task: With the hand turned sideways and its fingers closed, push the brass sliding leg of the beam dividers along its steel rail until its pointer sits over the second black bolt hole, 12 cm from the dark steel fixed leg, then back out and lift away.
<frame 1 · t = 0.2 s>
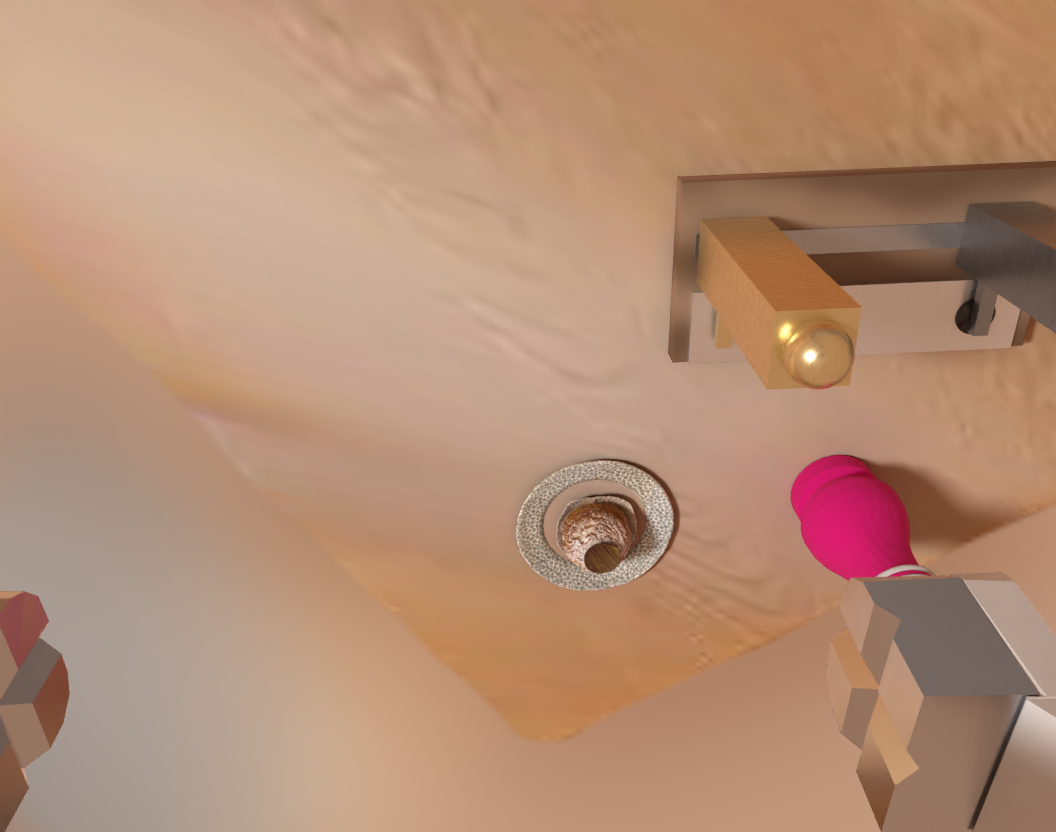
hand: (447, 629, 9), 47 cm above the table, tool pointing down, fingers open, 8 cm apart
sliding leg: (767, 338, 48), point 11 cm above the table, slide at -5.0 cm
pastry: (593, 518, 67), on the table
pepper mill: (829, 487, 66), on the table
bolt strip: (860, 293, 57), on the walnut board, point 1 cm above the table
walnut board: (853, 261, 58), on the table
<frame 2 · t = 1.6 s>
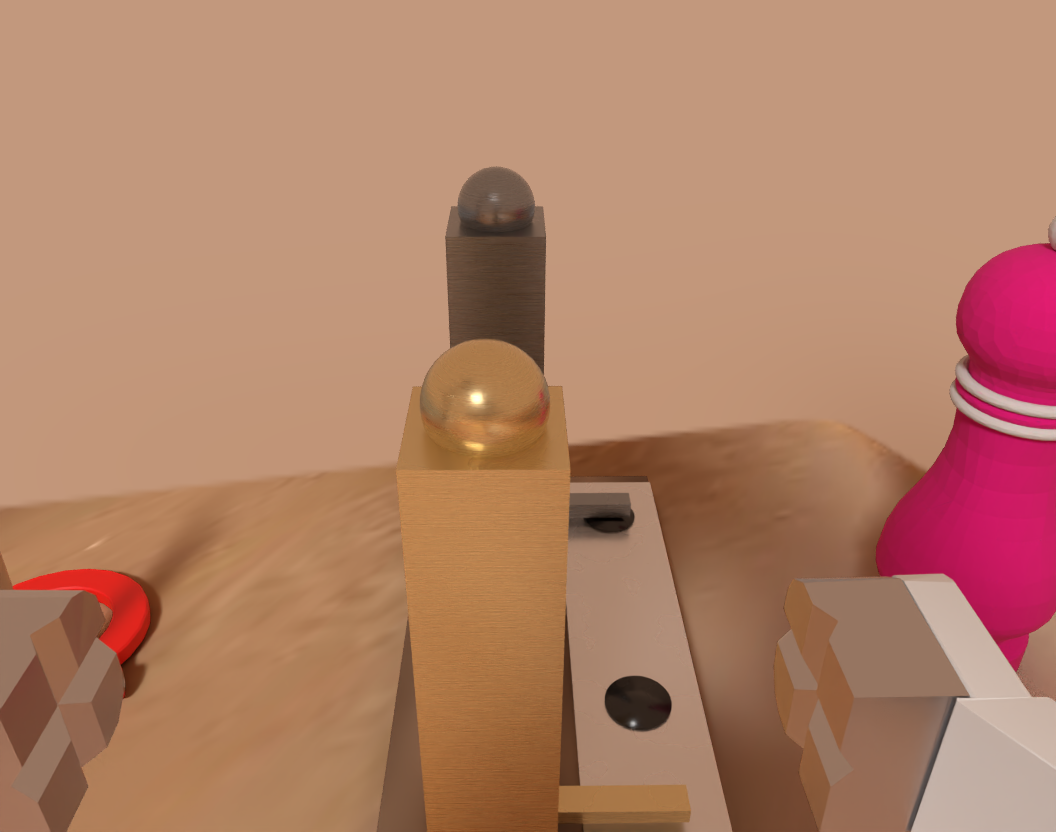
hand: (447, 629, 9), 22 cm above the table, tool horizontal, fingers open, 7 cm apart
sliding leg: (568, 618, 25), point 11 cm above the table, slide at -5.0 cm
fixed leg: (547, 362, 40), on the bolt strip, point 11 cm above the table
pepper mill: (940, 643, 40), on the table
bolt strip: (582, 631, 38), on the walnut board, point 1 cm above the table
walnut board: (544, 660, 38), on the table
tow hook: (51, 652, 39), on the table
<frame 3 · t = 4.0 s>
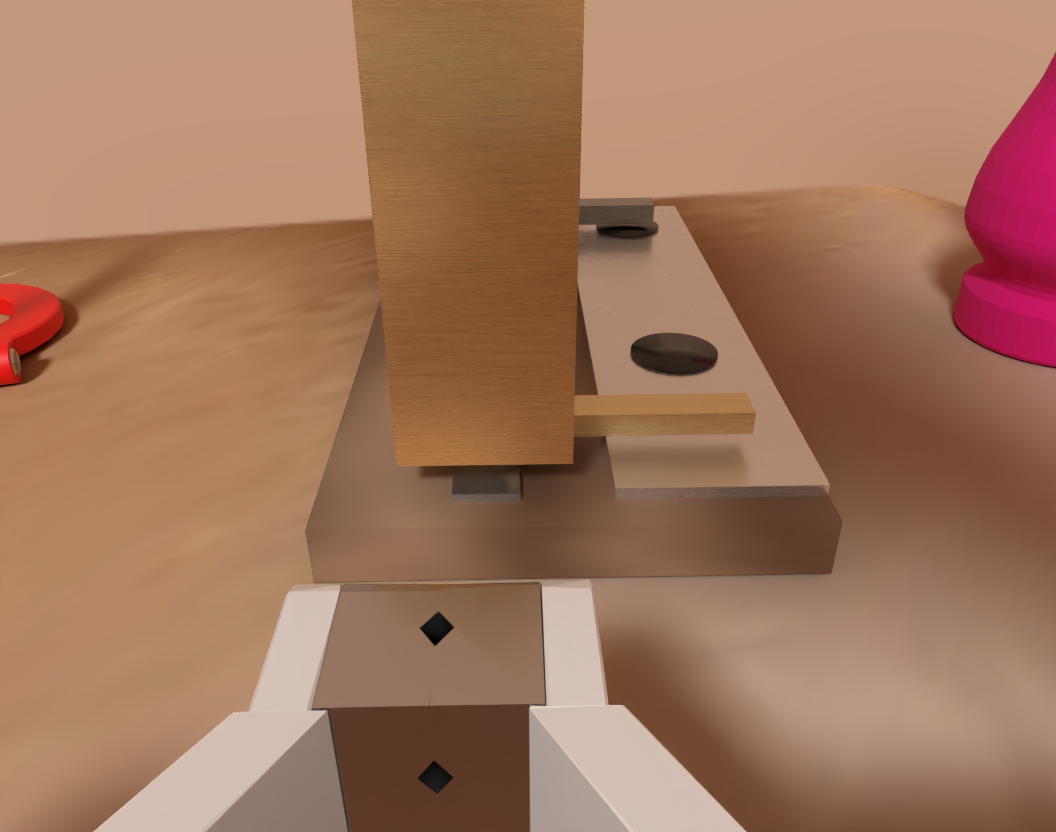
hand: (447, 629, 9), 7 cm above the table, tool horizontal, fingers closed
sliding leg: (587, 49, 17), point 11 cm above the table, slide at -5.0 cm
pepper mill: (1044, 337, 32), on the table
bolt strip: (598, 305, 30), on the walnut board, point 1 cm above the table
walnut board: (551, 351, 31), on the table
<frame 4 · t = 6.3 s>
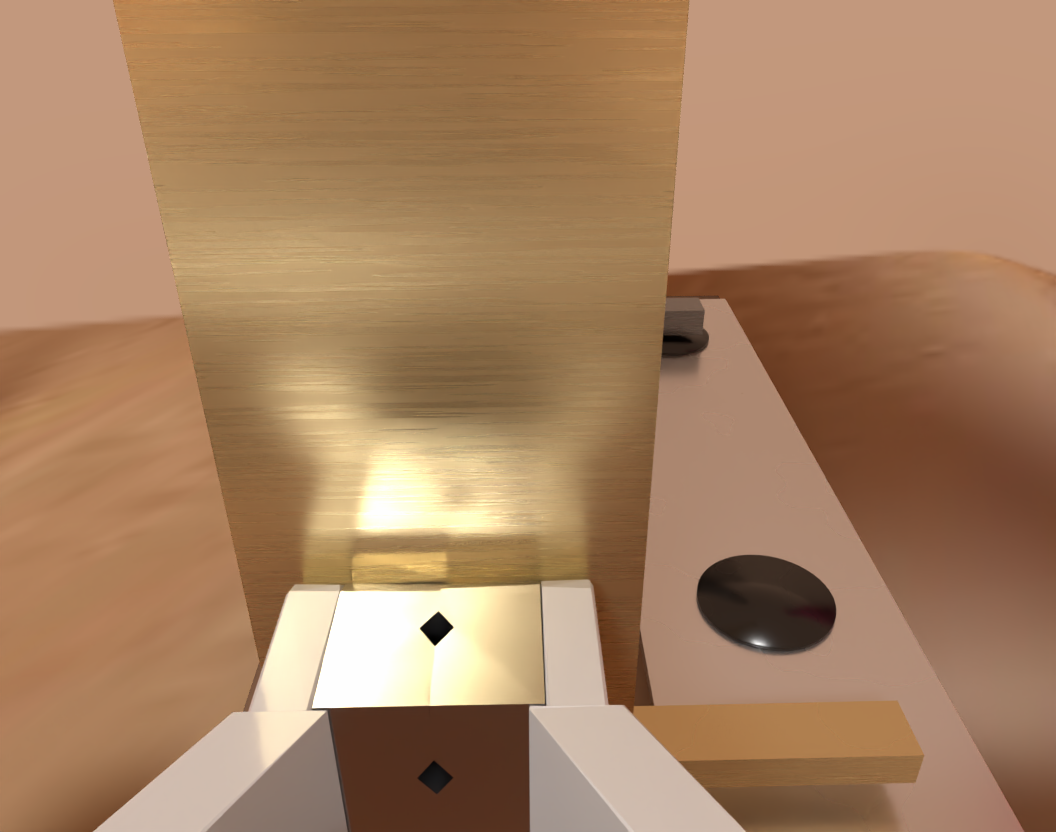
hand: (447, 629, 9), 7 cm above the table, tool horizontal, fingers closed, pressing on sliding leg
sliding leg: (662, 182, 9), point 11 cm above the table, slide at -3.9 cm, touching gripper
fixed leg: (566, 33, 23), on the bolt strip, point 11 cm above the table
bolt strip: (638, 488, 20), on the walnut board, point 2 cm above the table
walnut board: (568, 547, 21), on the table
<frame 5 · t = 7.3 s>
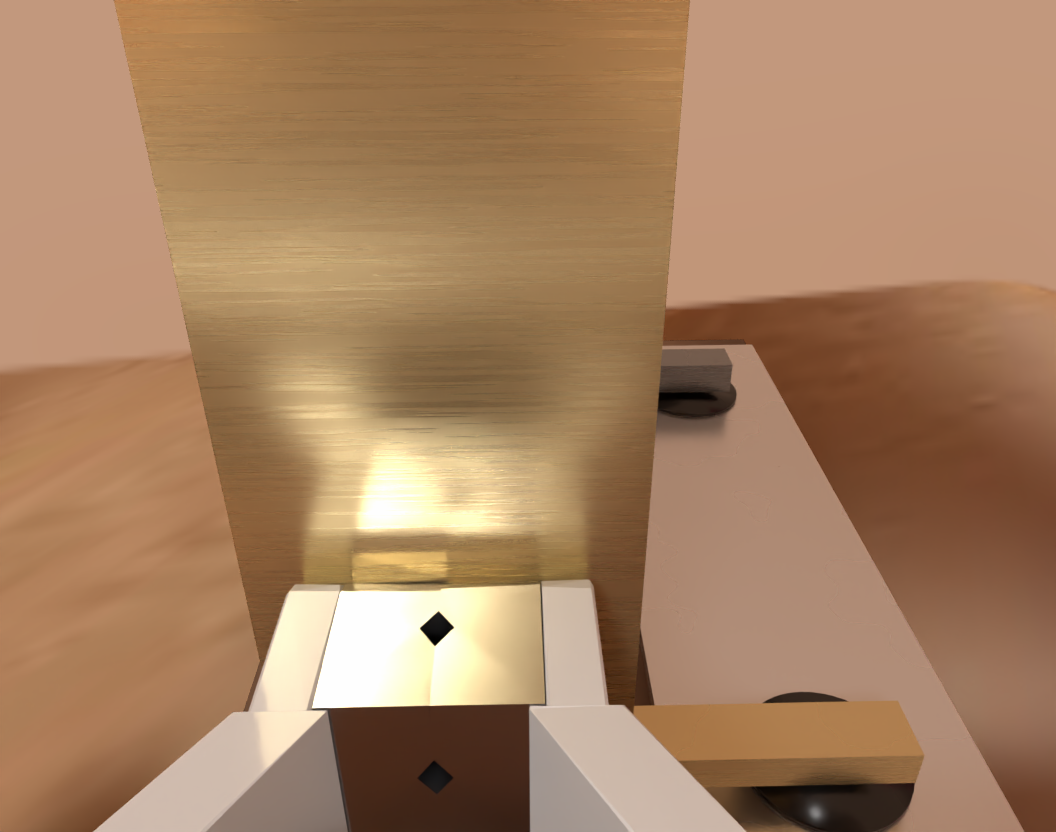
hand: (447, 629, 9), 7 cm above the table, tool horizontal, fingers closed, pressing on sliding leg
sliding leg: (662, 182, 9), point 11 cm above the table, slide at -0.3 cm, touching gripper
fixed leg: (577, 52, 20), on the bolt strip, point 11 cm above the table
bolt strip: (663, 594, 17), on the walnut board, point 2 cm above the table
walnut board: (580, 658, 18), on the table
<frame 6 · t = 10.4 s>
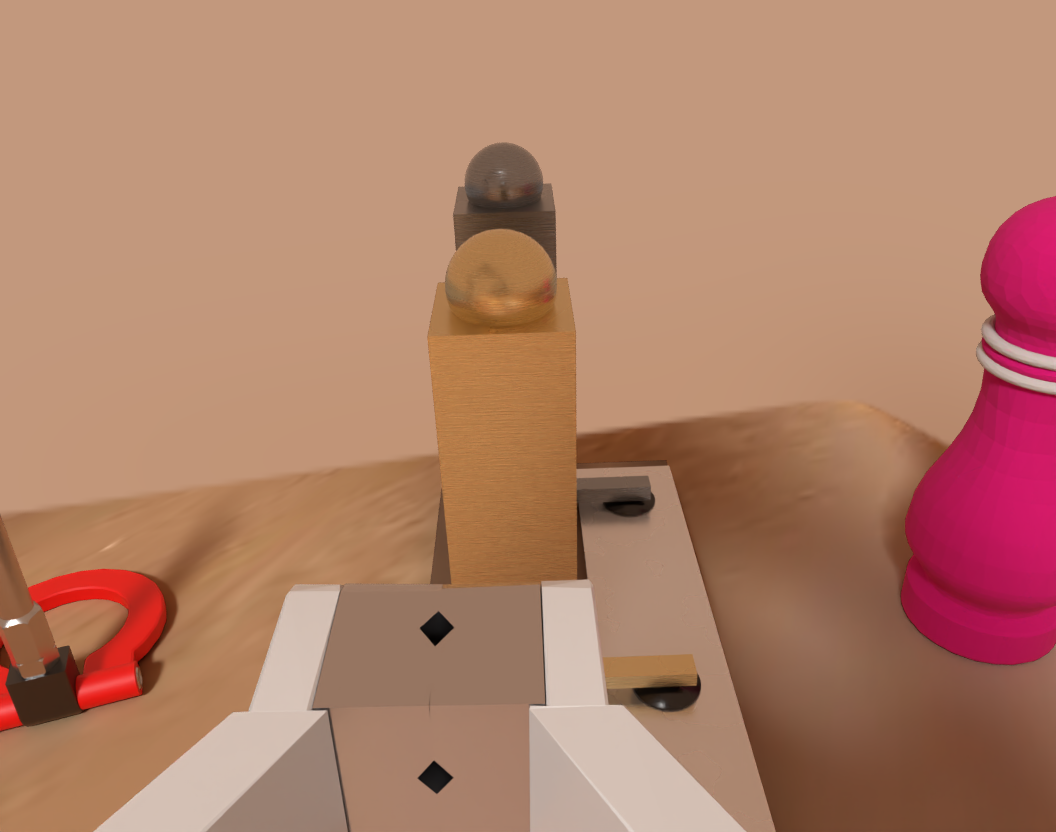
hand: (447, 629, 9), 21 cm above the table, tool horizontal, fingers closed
sliding leg: (580, 488, 29), point 11 cm above the table, slide at -0.1 cm
fixed leg: (561, 343, 39), on the bolt strip, point 11 cm above the table
pepper mill: (975, 617, 39), on the table
bolt strip: (606, 614, 37), on the walnut board, point 1 cm above the table
walnut board: (568, 645, 38), on the table
tow hook: (68, 652, 39), on the table
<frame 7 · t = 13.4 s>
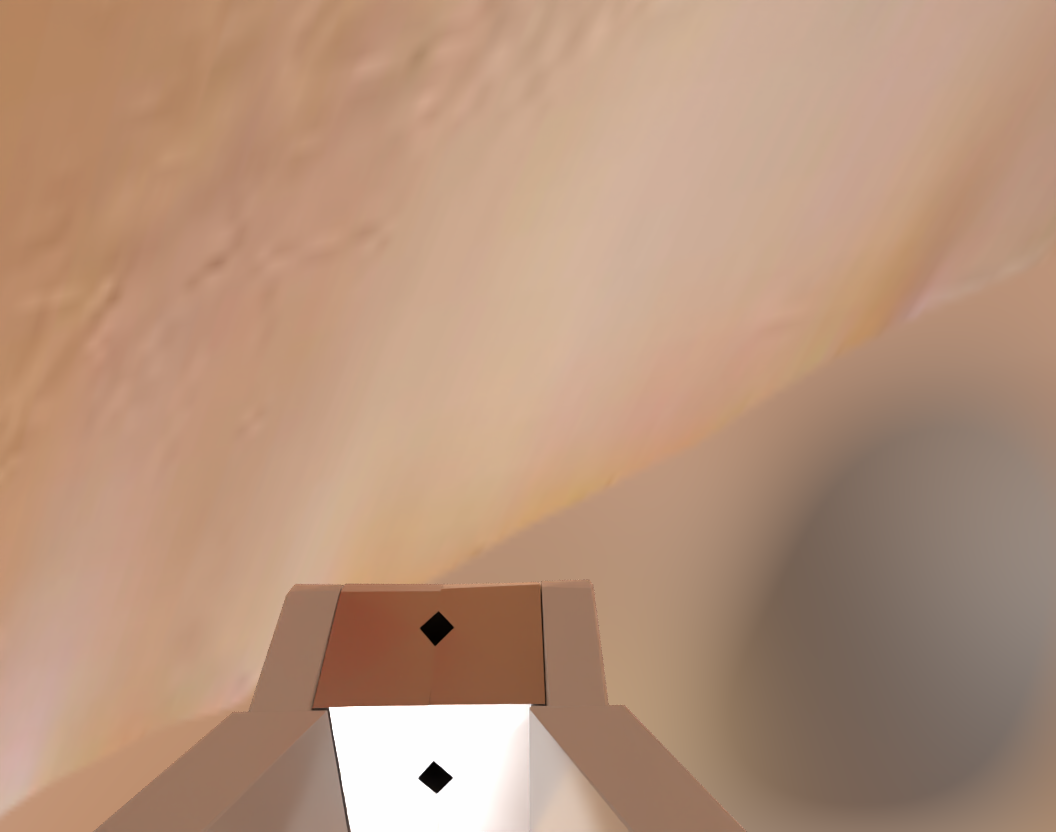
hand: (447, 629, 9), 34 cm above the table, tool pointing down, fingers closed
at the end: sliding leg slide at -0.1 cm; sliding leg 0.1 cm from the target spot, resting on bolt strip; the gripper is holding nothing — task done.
